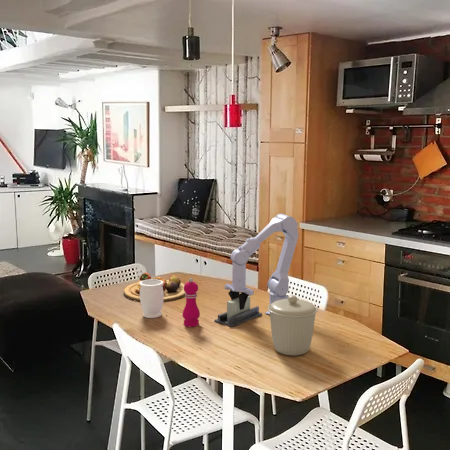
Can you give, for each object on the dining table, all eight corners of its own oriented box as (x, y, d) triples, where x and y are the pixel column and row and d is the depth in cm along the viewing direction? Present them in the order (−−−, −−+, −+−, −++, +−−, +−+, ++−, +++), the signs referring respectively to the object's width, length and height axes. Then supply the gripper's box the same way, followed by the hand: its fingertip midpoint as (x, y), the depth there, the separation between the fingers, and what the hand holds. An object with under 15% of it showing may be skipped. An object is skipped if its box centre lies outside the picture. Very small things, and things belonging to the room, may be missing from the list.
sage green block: (244, 310, 247) (244, 295, 245) (250, 312, 244) (251, 296, 243) (226, 317, 238) (226, 301, 236) (233, 319, 235) (233, 303, 234)
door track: (244, 309, 252) (244, 302, 252) (262, 314, 246) (262, 307, 245) (214, 321, 237) (214, 314, 237) (232, 327, 231) (232, 319, 230)
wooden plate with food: (120, 286, 289) (119, 271, 287) (180, 281, 298) (180, 266, 297) (128, 307, 259) (127, 290, 257) (195, 300, 268) (195, 283, 267)
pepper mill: (197, 328, 230) (197, 281, 226) (180, 326, 231) (179, 280, 228) (201, 322, 237) (201, 276, 233) (185, 320, 238) (184, 275, 235)
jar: (162, 319, 240) (161, 285, 237) (138, 319, 240) (137, 285, 237) (165, 311, 250) (164, 278, 248) (142, 311, 251) (141, 278, 248)
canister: (284, 337, 220) (285, 285, 216) (325, 349, 209) (327, 294, 205) (257, 351, 206) (258, 296, 202) (299, 364, 195) (301, 306, 191)
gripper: (220, 276, 240) (220, 306, 242) (246, 282, 231) (246, 314, 233) (230, 273, 245) (230, 303, 248) (256, 279, 236) (256, 310, 238)
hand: (238, 308), depth 241 cm, fingers closed on sage green block, 3 cm apart
